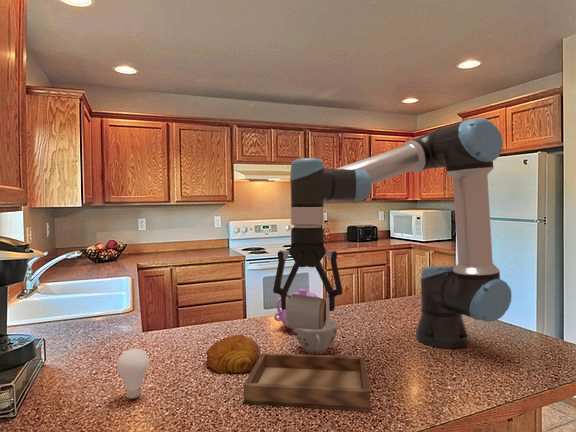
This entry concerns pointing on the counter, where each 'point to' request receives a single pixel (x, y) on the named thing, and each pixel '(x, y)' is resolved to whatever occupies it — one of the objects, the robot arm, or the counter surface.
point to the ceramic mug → (306, 312)
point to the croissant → (233, 354)
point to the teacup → (317, 338)
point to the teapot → (283, 312)
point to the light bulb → (133, 370)
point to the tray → (309, 382)
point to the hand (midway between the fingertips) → (308, 324)
